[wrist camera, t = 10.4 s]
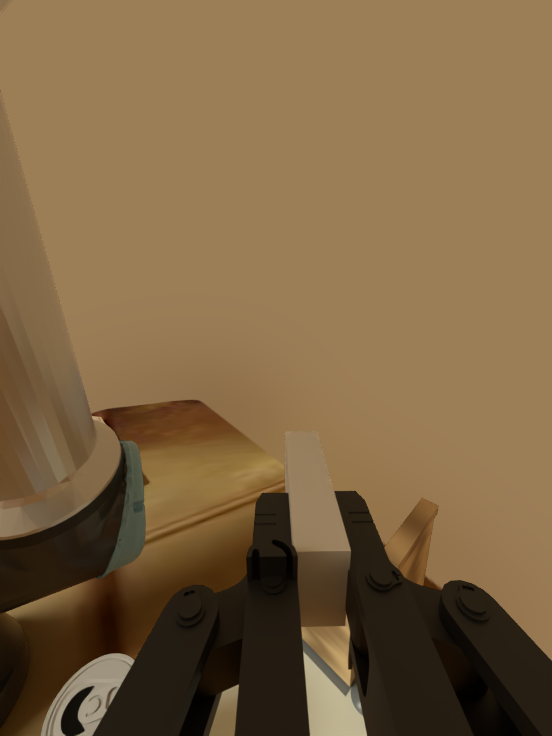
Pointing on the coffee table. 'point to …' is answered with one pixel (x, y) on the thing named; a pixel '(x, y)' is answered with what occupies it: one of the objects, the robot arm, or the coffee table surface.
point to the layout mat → (309, 702)
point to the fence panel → (331, 647)
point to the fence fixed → (413, 542)
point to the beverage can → (86, 697)
